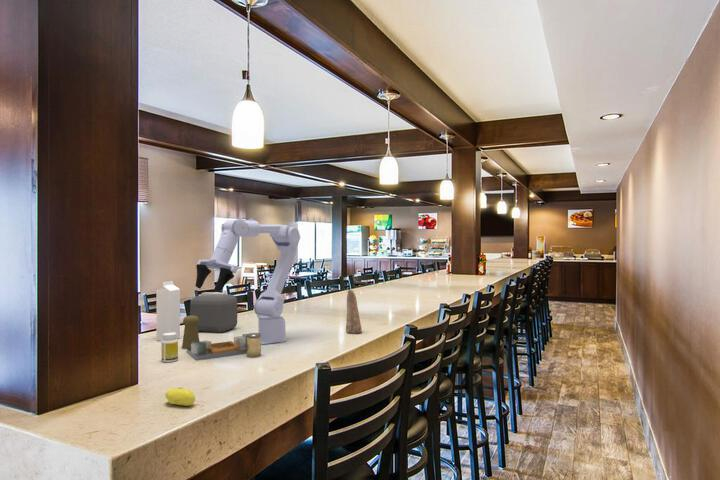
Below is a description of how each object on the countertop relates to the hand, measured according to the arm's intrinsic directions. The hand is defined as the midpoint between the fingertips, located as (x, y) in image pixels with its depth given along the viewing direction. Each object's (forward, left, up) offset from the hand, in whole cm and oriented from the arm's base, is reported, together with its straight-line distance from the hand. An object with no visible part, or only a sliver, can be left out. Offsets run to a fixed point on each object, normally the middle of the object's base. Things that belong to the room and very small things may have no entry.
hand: (207, 289), depth 148 cm
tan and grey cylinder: (-13, +7, -22) cm, 26 cm away
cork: (+1, -17, -22) cm, 28 cm away
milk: (+5, -35, -22) cm, 42 cm away
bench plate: (-6, -4, -22) cm, 23 cm away
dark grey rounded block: (-14, -43, -22) cm, 51 cm away
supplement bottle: (+11, -2, -22) cm, 25 cm away
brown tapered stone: (-60, -6, -22) cm, 64 cm away
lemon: (+17, +40, -22) cm, 49 cm away
